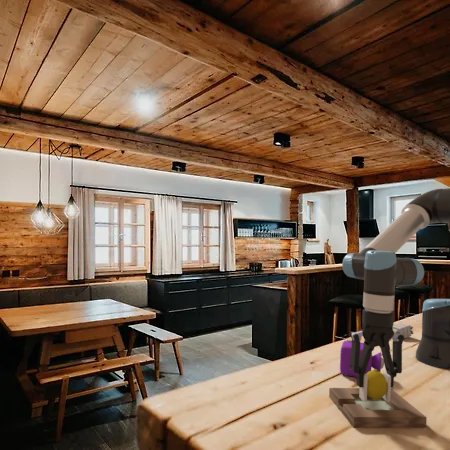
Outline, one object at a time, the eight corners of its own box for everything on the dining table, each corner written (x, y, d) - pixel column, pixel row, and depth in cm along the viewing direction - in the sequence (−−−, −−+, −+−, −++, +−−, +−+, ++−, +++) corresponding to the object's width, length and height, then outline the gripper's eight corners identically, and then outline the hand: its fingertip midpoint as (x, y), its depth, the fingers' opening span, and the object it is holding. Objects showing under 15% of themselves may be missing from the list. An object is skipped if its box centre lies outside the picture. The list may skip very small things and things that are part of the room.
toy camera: (386, 383, 115) (387, 350, 115) (340, 377, 118) (342, 346, 118) (379, 370, 126) (380, 341, 126) (337, 365, 128) (338, 336, 129)
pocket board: (390, 397, 105) (391, 388, 105) (426, 427, 89) (426, 417, 89) (329, 396, 103) (329, 387, 103) (353, 427, 87) (354, 417, 88)
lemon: (375, 406, 92) (377, 374, 93) (358, 397, 97) (359, 366, 98) (390, 403, 95) (392, 371, 95) (373, 394, 100) (374, 364, 100)
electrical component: (373, 350, 159) (372, 338, 158) (363, 345, 164) (362, 334, 164) (413, 335, 168) (412, 324, 167) (403, 331, 173) (401, 321, 173)
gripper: (404, 307, 101) (400, 393, 101) (338, 305, 99) (334, 392, 99) (420, 314, 94) (417, 406, 93) (349, 312, 92) (345, 406, 92)
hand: (374, 399), depth 96 cm, fingers closed on lemon, 5 cm apart
